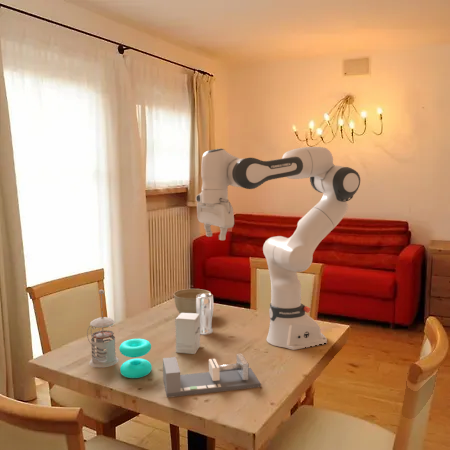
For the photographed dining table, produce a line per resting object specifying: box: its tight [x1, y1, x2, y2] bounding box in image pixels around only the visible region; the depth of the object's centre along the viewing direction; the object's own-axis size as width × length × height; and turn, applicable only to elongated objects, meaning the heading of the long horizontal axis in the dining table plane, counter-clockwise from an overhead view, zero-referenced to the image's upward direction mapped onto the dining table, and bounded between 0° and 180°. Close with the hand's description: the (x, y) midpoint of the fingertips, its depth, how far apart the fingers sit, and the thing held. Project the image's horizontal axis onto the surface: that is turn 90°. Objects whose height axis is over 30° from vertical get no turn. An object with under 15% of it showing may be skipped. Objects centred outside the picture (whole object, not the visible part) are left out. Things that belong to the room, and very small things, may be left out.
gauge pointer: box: [208, 358, 220, 381], centre depth 143 cm, size 2×6×4 cm, turn 13°
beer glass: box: [196, 293, 214, 336], centre depth 187 cm, size 7×7×15 cm
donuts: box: [118, 338, 153, 379], centre depth 151 cm, size 10×10×10 cm
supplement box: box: [175, 313, 201, 355], centre depth 169 cm, size 7×7×13 cm
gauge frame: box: [162, 356, 261, 398], centre depth 143 cm, size 28×11×7 cm, turn 103°
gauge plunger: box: [218, 352, 250, 380], centre depth 145 cm, size 9×8×5 cm
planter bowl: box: [173, 288, 212, 314], centre depth 205 cm, size 16×16×11 cm
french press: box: [86, 289, 119, 368], centre depth 159 cm, size 10×12×25 cm
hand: (215, 238), depth 161 cm, fingers open, 8 cm apart
